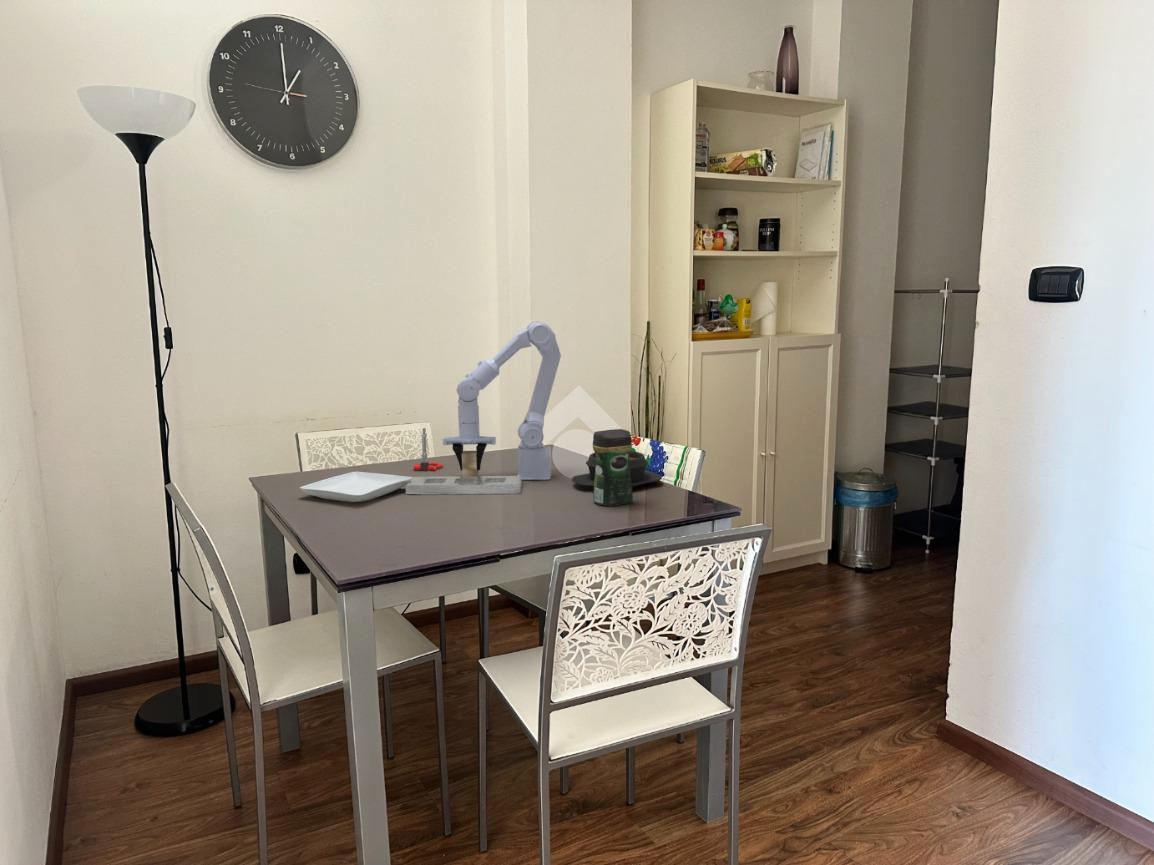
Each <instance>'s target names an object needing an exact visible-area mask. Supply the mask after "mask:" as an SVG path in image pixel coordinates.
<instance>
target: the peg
mask: <svg viewBox="0 0 1154 865" xmlns="http://www.w3.org/2000/svg"><path fill="white" fill-rule="evenodd" d="M479 471H480V470H477V451H476V450H463V453H462V471H461V472H462V476H480V474H479Z"/></svg>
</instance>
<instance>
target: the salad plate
mask: <svg viewBox="0 0 1154 865" xmlns="http://www.w3.org/2000/svg"><path fill="white" fill-rule="evenodd" d="M412 478H413V476H403V475H396V474H387V473H377V472H364V471H351V472H347V473H344V474H339V475H335V476H332V477H327V478H325V479H322V480H321V479H320V480H318V481H315V482H312V483H308V484H306V485H303V486H300V487H299V489H300V490H301V491H302V492H303V493H305V494H307V495H310V496H314V497H317V498H321V499H323V500H324V499H325V500H331V501H340V502H346V501H347V502H348V503H361V502H363V503H364V502H366V501H370V500H373V499H376V498H379V497H382V496H384V495H388V494H390V493H393V492H395V491H396V490H398V489H400V488H403V487H404V486H405V487H406V484H407V483H408V482H410V481H411V480H412ZM347 502H346V503H347Z"/></svg>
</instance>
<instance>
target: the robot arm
mask: <svg viewBox="0 0 1154 865" xmlns="http://www.w3.org/2000/svg"><path fill="white" fill-rule="evenodd" d="M558 344H559V343H558V342H557V338H556V333H555V332H554V330H552V328H551V327H550V326H549V325H548V324H547V323H545V322H541V321H532V322H530V323H529V324H528V325H527V327H524V328H522V329H521V330H519V331H518V333H517V334H515V335H514V336H513V337H512V338H511V339H510V340H509V341H508V342H507V343H506V344H505V345H504V346H503V347H502V348H501V349H500V350H499V351H498V352H497V353H496V354H495V356H493V357H492V358H491V359H490V358H484V359H483V360H479V361H478V362H477V366H476V367H475V368H474V369H473V370H472V371H470V373H466V374H465V376H464V377H465V378H463V379H462V380H461V381H459V382H458V384H457V388H456V393H457V395H458V399H457V404H458V406H457V419H458V436H445V437H443V438H442V445H443V446H448V445H451V446H452V447H451V448H452V451H453V453H454V454H455V456H456V458H457V462H458V465H459V469H460V471H461V472H462V453H463V451H464V445H465V446H466V445H476V447H475V451H477V470H479V471H480V470H481V466H482V465H481V464H482V460H483V456H484V453H485V451H486V448H487V446H488V445H493V446H494V445H496V444H497V442H496V441H497V440H496V439H497V438H496V436H482V435H480V411H479V410H480V409H479V408H480V407H479V404H478V397H479V396H480V391H481V390H484V389H485V388H486V387H487V386H489V385H490V384H491V383H492V382H493V381H494V380H495V379H496V378H497V377H498V376H499V375H500V368H501V366H503V365H504V364H505V363H506V362H508V361H509V360H510V359H511V358H512V357H513V356H514V355H515V354H516V353H518V352H519V351H520V350H521V349H527V348H530V347H532V345H533V346H534V347H535V348H537V351H538V352H539V354H540V356H541V358H542V359H541V362H540V366H539V370H538V373H537V378H536V380H535V383H534V388H533V392H532V394H531V399H530V402H529V406H528V410H527V412H526V414H525V416H524V420H522V421H523V422H521V424H520V425H519V427H518V429H517V436H518V437H519V439H520V442H519V444H518V445H517V451H518V453H517V454H518V456H517V457H518V473H517V475H516V476H522V481H524V480H526V481H528V480H529V481H530V480H531V481H532V480H533V481H534V480H536V481H537V480H539V481H540V480H542V481H544V480H551V478H552V471H553V466H552V462H551V461H552V457H551V456H552V455H551V450H552V448H551V447H550V446H545V445H544V443H543V441H544V431H543V430H544V425H545V415H546V411H547V407H548V404H549V401H550V397H551V392H552V389H553V387H554V382H555V378H556V375H557V371H558V368H559V364H560V361H561V356H562V355H561V354H562V353H561V351H560V348H559V345H558Z"/></svg>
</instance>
